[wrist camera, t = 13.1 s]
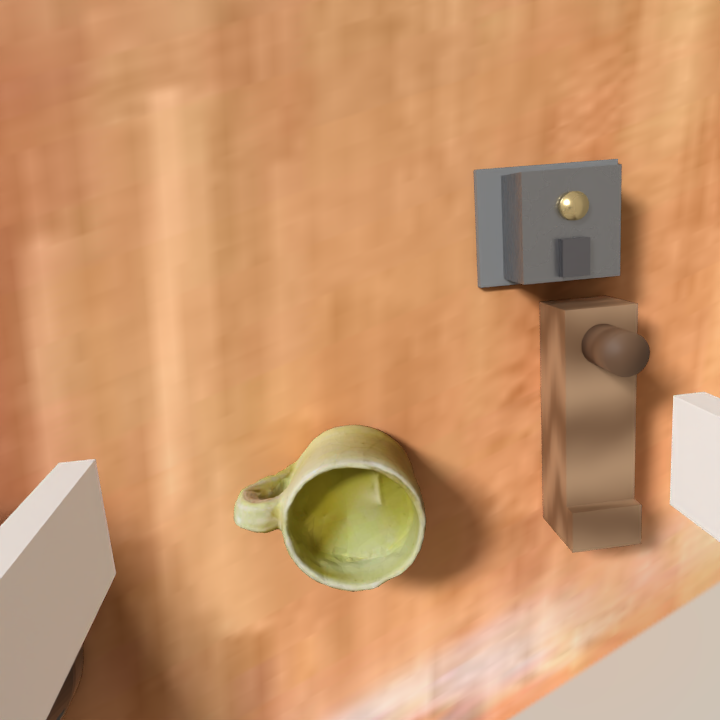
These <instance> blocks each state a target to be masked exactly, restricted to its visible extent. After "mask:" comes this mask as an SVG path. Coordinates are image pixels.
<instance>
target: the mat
mask: <svg viewBox="0 0 720 720" xmlns="http://www.w3.org/2000/svg"><path fill="white" fill-rule="evenodd" d="M606 165H618V159H611V160H597V161H584V162H571V163H558V164H545V165H532V166H519V167H506V168H493V169H480V170H474V192H475V218H476V245H477V272H478V287H480V288H483V287H494V286H504V285H515V284H520V283H517V282H513V281H510V280H506V279H504V271H503V236H502V200H501V176H502V175H508V174H513V173H519V172H528V171H541V170H554V169H567V168H580V167H593V166H606Z"/></svg>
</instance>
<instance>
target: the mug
mask: <svg viewBox="0 0 720 720" xmlns="http://www.w3.org/2000/svg"><path fill="white" fill-rule="evenodd" d="M234 520H235V523H236V524H237V525H238V526H239V527H241V528H244V529H247V530H250V531H253V532H260V533H267V532H270V531H273V530H275V529H280V530H281V531H282V534H283V537H284V542H285V545H286V548H287V550H288V553H289V555H290V557H291V558H292V559H293V561H294V562H295V563H296V565H297V566H298V567H299V568H300V569H301V570H302V571H303V572H304V573H305V574H306V575H308V576H309V577H310V578H312V579H314V580H315V581H317V582H319V583H321V584H324V585H327V586H329V587H332V588H335V589H340V590H346V591H353V592H354V591H362V590H370V589H374V588H376V587H379V586H380V585H381V584H383V583H384V582H386V581H388V580H390V579H392V578H394V577H396V576H399V575H401V574H402V573H403V572H404V571H405V570H406V569H407V568H408V567H409V566H411V565H412V563H413V562H414V560H415V558H416V556H417V554H418V553H419V551H420V550H421V546H422V543H423V539H424V533H425V530H426V516H425V508H424V502H423V499H422V495H421V492H420V487H419V485H418V483H417V480H416V478H415V476H414V472H413V467H412V465H411V462H410V460H409V458H408V456H407V454H406V453H405V451H404V449H403V448H402V447H401V446H400V444H399V443H398V442H397V441H395V440H394V439H393V438H391V437H390V436H388V435H387V434H385V433H384V432H382V431H380V430H377V429H374V428H371V427H368V426H362V425H346V426H340V427H335V428H332V429H329V430H327V431H325V432H323V433H321V434H320V435H319V436H318V437H316V438H315V439H314V440H313V441H312V442H311V443H310V444H309V446H308V447H307V449H306V450H305V451H304V452H303V453H302V455H301V456H300V458H299V459H298V460H297V461H296V462H295V463H293V464H291V465H289V466H288V467H287V468H286V469H284V470H282V471H280V472H278V473H277V474H276V475H271V476H267V477H265V478H263V479H261V480H259V481H257V482H256V483H255V484H252V485H249V486H247V487H246V488H244V489H242V491H241V492H240V494H239V496H238V499H237V501H236V503H235V507H234Z"/></svg>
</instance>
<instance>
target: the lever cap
mask: <svg viewBox="0 0 720 720" xmlns="http://www.w3.org/2000/svg"><path fill="white" fill-rule="evenodd" d="M501 200H502V236H503V271H504V279H506V280H510V281H513V282H517V283H520V284H523V285H525V284H536V283H546V282H557V281H568V280H579V279H590V278H600V277H611V276H620V246H621V164H619V165H606V166H593V167H580V168H567V169H554V170H541V171H528V172H519V173H513V174H508V175H502V176H501Z"/></svg>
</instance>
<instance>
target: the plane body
mask: <svg viewBox="0 0 720 720" xmlns="http://www.w3.org/2000/svg"><path fill="white" fill-rule="evenodd" d="M637 323H638V304H637V303H633V302H629V301H625V300H621V299H617V298H613V297H610V296H596V297H585V298H575V299H564V300H554V301H543V302H540V363H541V425H542V487H543V518H544V519H545V520H546V521H547V523H548V524H549V525H550V526H551V527H552V529H553V530H554V531H555V532H556V533H557V535H558V536H559V537H560V538H561V539H562V540H563V542H564V543H565V544H566V545H567V546H568V548H569V549H570V550H571V551H572V552H573V553H574V552H582V551H589V550H597V549H605V548H612V547H620V546H628V545H636V544H641V515H642V505H641V504H640V503H639V502H638V501H637V500H635V499H634V488H635V433H636V378H637V374H638V373H639V372H640V371H642V370H643V368H644V367H645V366H646V364H647V362H648V359H649V354H650V350H649V346H648V343H647V341H646V340H645V339H644V338H643V337H642V336H640V335H638V334H637Z"/></svg>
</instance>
